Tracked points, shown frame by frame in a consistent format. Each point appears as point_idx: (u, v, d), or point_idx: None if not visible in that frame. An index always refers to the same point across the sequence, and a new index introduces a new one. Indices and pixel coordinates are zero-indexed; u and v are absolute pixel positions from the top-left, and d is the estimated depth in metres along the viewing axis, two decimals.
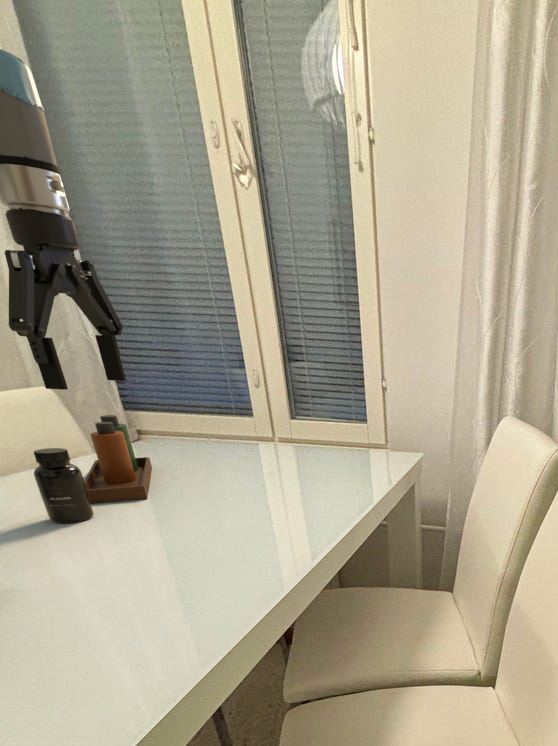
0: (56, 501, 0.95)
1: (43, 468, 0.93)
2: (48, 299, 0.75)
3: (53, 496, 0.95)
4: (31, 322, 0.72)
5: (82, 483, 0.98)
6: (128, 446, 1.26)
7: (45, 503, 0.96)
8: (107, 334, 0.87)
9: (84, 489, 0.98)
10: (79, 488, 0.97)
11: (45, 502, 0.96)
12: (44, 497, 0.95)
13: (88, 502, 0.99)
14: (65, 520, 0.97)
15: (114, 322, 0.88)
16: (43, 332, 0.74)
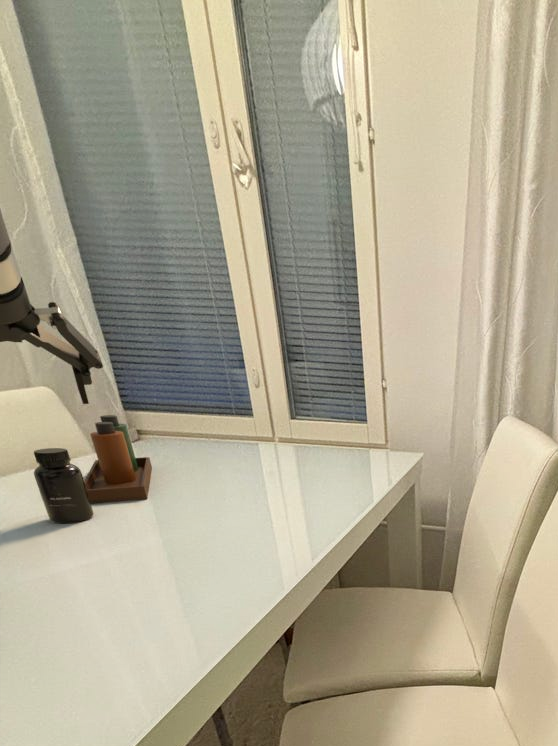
0: (56, 500, 0.95)
1: (43, 468, 0.93)
2: None
3: (53, 496, 0.95)
4: None
5: (82, 483, 0.98)
6: (128, 446, 1.26)
7: (45, 503, 0.96)
8: None
9: (84, 489, 0.98)
10: (79, 488, 0.97)
11: (45, 502, 0.96)
12: (44, 497, 0.95)
13: (88, 502, 0.99)
14: (65, 520, 0.97)
15: None
16: None
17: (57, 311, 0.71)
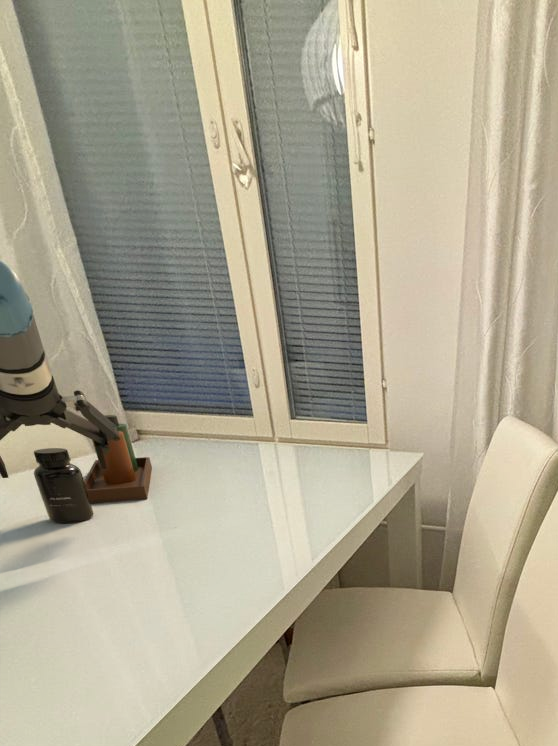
0: (56, 500, 0.95)
1: (43, 468, 0.93)
2: (0, 432, 0.80)
3: (53, 496, 0.95)
4: None
5: (82, 483, 0.98)
6: (128, 446, 1.26)
7: (45, 503, 0.96)
8: None
9: (84, 489, 0.98)
10: (79, 488, 0.97)
11: (45, 502, 0.96)
12: (44, 497, 0.95)
13: (88, 502, 0.99)
14: (65, 520, 0.97)
15: (108, 435, 0.89)
16: None
17: (81, 398, 0.81)
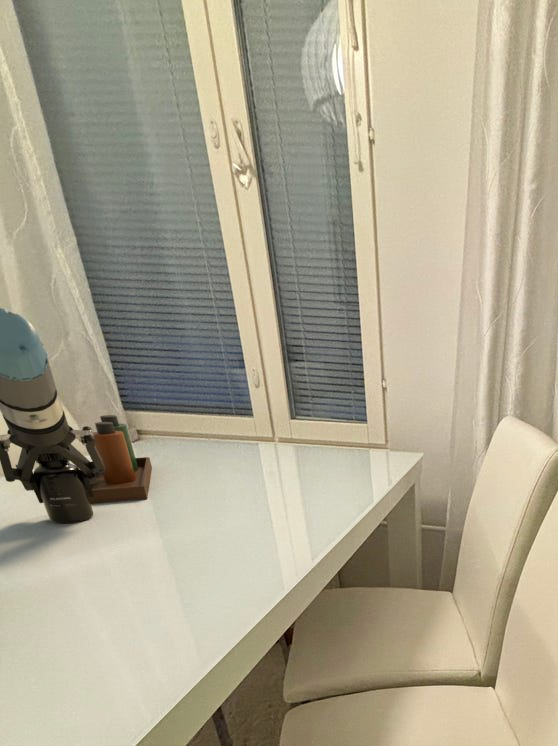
0: (56, 501, 0.95)
1: (43, 468, 0.93)
2: (28, 463, 0.89)
3: (52, 496, 0.95)
4: (11, 477, 0.90)
5: (82, 483, 0.97)
6: (128, 446, 1.26)
7: (45, 503, 0.96)
8: None
9: (84, 489, 0.98)
10: (78, 488, 0.97)
11: (45, 502, 0.96)
12: (44, 497, 0.95)
13: (88, 502, 0.99)
14: (65, 520, 0.97)
15: (96, 467, 0.96)
16: (25, 481, 0.92)
17: (91, 434, 0.90)
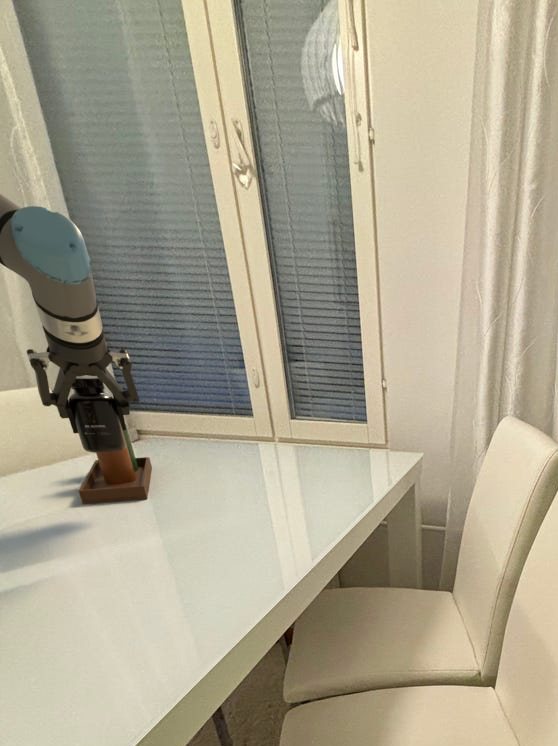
0: (90, 428, 0.95)
1: (78, 394, 0.93)
2: (65, 385, 0.89)
3: (87, 423, 0.95)
4: (48, 401, 0.90)
5: (116, 412, 0.97)
6: (128, 446, 1.26)
7: (80, 431, 0.96)
8: None
9: (118, 419, 0.98)
10: (113, 417, 0.97)
11: (80, 430, 0.96)
12: (79, 425, 0.95)
13: (121, 433, 0.99)
14: (99, 449, 0.97)
15: (130, 396, 0.96)
16: (61, 406, 0.92)
17: (128, 357, 0.90)
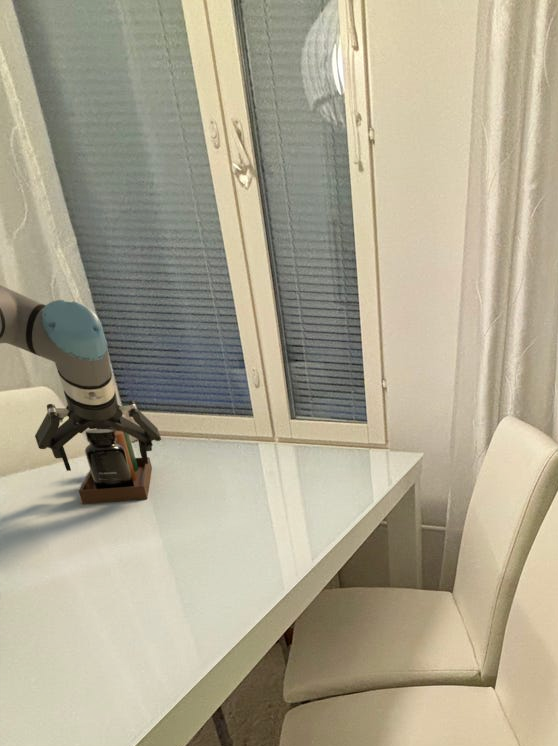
0: (104, 475, 1.09)
1: (94, 446, 1.07)
2: (70, 434, 1.00)
3: (101, 471, 1.08)
4: (45, 445, 1.00)
5: (126, 460, 1.11)
6: (128, 446, 1.26)
7: (94, 477, 1.09)
8: None
9: (127, 465, 1.12)
10: (123, 465, 1.10)
11: (94, 476, 1.09)
12: (94, 472, 1.09)
13: (130, 477, 1.13)
14: None
15: (152, 436, 1.10)
16: (55, 449, 1.02)
17: (134, 407, 1.02)
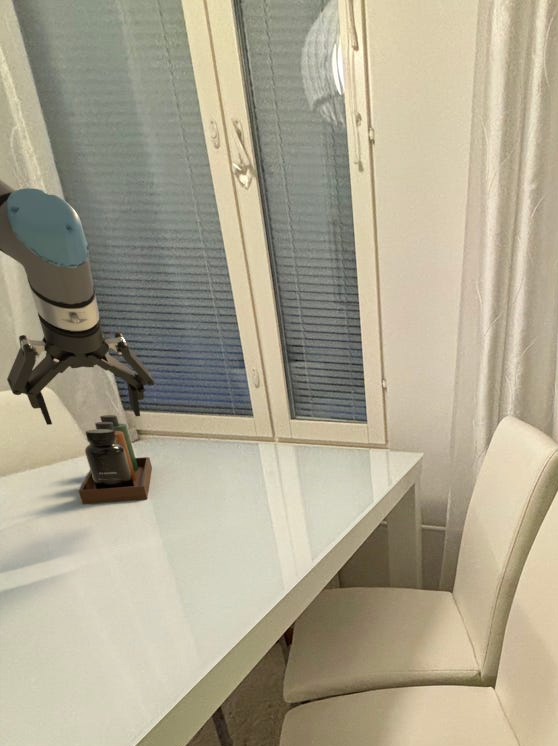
0: (104, 475, 1.09)
1: (94, 446, 1.07)
2: (49, 374, 0.86)
3: (101, 471, 1.08)
4: (20, 389, 0.85)
5: (126, 460, 1.11)
6: (128, 446, 1.26)
7: (94, 477, 1.09)
8: None
9: (127, 465, 1.12)
10: (123, 465, 1.10)
11: (94, 476, 1.09)
12: (94, 472, 1.09)
13: (130, 477, 1.13)
14: None
15: (144, 380, 0.95)
16: (32, 394, 0.87)
17: (122, 340, 0.87)
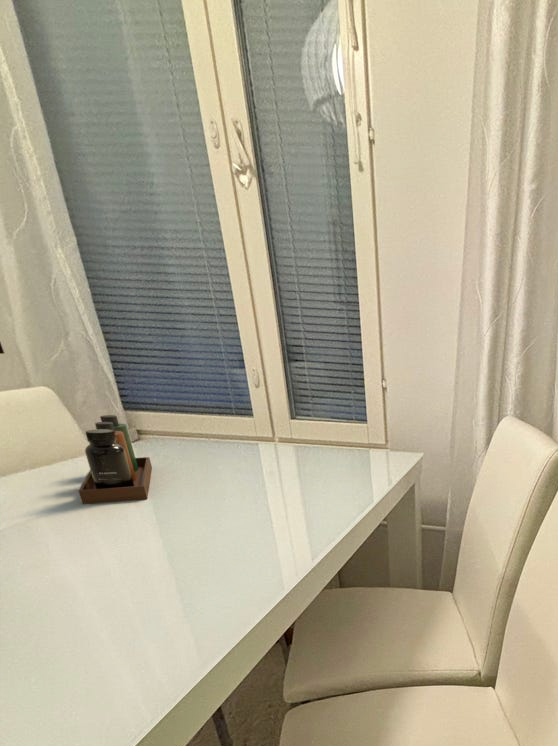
0: (104, 475, 1.09)
1: (94, 446, 1.07)
2: None
3: (101, 471, 1.08)
4: None
5: (126, 460, 1.11)
6: (128, 446, 1.26)
7: (94, 477, 1.09)
8: None
9: (127, 465, 1.12)
10: (123, 465, 1.10)
11: (94, 476, 1.09)
12: (94, 472, 1.09)
13: (130, 477, 1.13)
14: None
15: None
16: None
17: None
